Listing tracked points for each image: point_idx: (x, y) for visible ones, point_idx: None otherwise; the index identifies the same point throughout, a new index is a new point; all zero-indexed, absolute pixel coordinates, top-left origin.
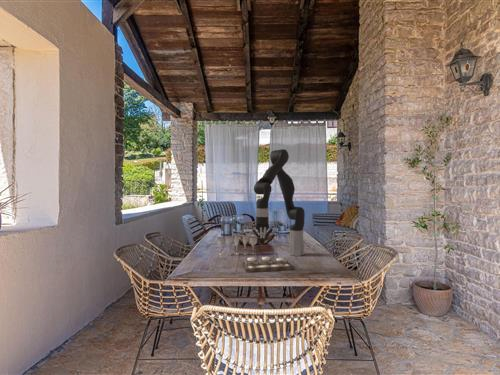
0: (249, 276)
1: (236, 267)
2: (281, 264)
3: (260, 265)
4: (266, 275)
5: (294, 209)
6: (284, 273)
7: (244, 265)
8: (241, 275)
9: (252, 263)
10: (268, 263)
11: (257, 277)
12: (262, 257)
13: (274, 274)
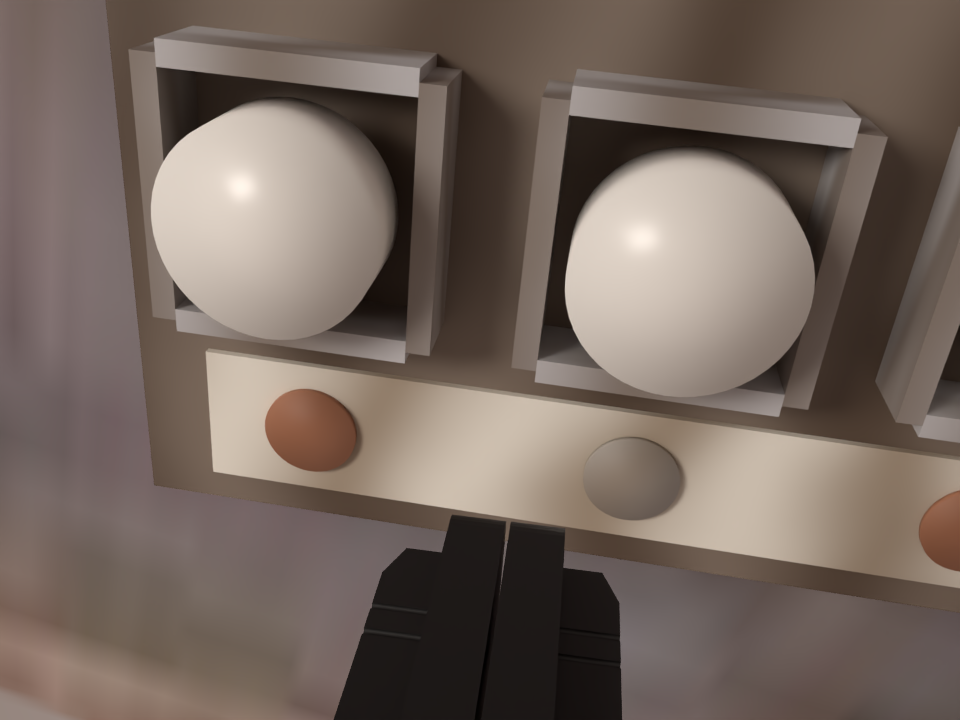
0: (202, 644)
1: (10, 49)
2: (958, 475)
3: (480, 362)
4: None
5: None
6: (782, 708)
7: (139, 243)
8: (90, 565)
9: None
10: None
11: (306, 716)
12: (586, 255)
13: None
